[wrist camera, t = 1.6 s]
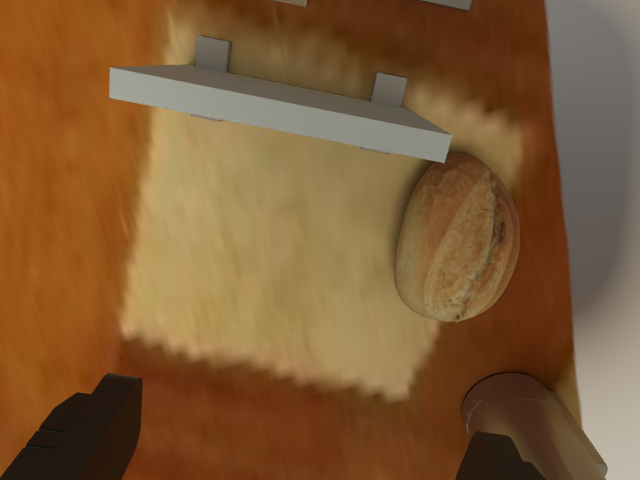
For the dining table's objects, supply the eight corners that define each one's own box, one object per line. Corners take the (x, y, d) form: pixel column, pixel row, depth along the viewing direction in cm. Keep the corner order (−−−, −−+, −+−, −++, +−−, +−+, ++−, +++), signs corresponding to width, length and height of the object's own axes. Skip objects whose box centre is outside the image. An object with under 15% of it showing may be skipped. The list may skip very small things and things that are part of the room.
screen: (415, 80, 36) (465, 91, 23) (396, 153, 38) (432, 202, 25) (190, 34, 35) (110, 18, 22) (184, 112, 37) (108, 140, 24)
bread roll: (515, 152, 38) (561, 175, 31) (479, 306, 44) (510, 356, 36) (403, 143, 38) (421, 164, 31) (380, 299, 44) (391, 348, 36)
